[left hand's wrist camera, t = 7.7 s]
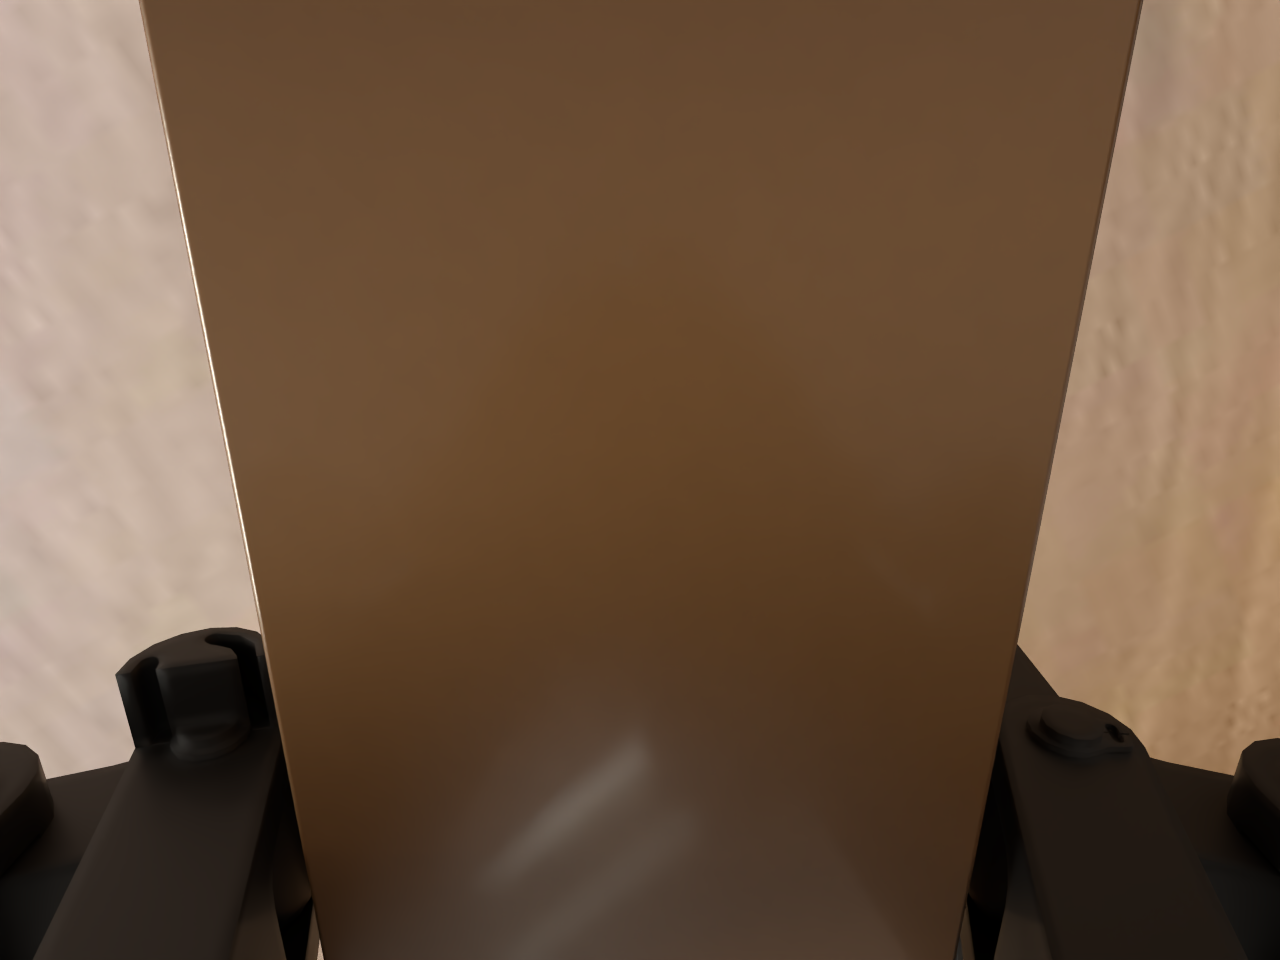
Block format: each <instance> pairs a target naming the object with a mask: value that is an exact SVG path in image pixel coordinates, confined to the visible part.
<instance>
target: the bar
mask: <svg viewBox="0 0 1280 960" xmlns="http://www.w3.org/2000/svg"><path fill="white" fill-rule="evenodd" d="M139 4H140V10H141V15H142V20H143V25H144V30H145V35H146V41H147V46H148V51H149V56H150V61H151V67H152V72H153V77H154V82H155V87H156V92H157V98H158V103H159V108H160V113H161V118H162V124H163V129H164V134H165V139H166V144H167V149H168V155H169V160H170V165H171V170H172V175H173V180H174V186H175V191H176V196H177V201H178V206H179V212H180V217H181V222H182V227H183V232H184V237H185V243H186V248H187V253H188V258H189V263H190V269H191V274H192V279H193V284H194V289H195V294H196V300H197V305H198V310H199V315H200V320H201V325H202V331H203V336H204V341H205V346H206V351H207V357H208V362H209V367H210V372H211V377H212V382H213V388H214V393H215V398H216V403H217V408H218V414H219V419H220V424H221V429H222V434H223V439H224V445H225V450H226V455H227V460H228V465H229V471H230V476H231V481H232V486H233V491H234V496H235V502H236V507H237V512H238V517H239V522H240V527H241V533H242V538H243V543H244V548H245V553H246V559H247V564H248V569H249V574H250V579H251V584H252V590H253V595H254V600H255V605H256V610H257V616H258V621H259V626H260V631H261V636H262V641H263V647H264V652H265V657H266V662H267V667H268V673H269V678H270V683H271V688H272V693H273V698H274V704H275V709H276V714H277V719H278V724H279V729H280V735H281V740H282V745H283V750H284V755H285V761H286V766H287V771H288V776H289V781H290V786H291V792H292V797H293V802H294V807H295V812H296V818H297V823H298V828H299V833H300V838H301V843H302V849H303V854H304V859H305V864H306V869H307V875H308V880H309V885H310V890H311V895H312V900H313V906H314V911H315V916H316V921H317V926H318V931H319V937H320V942H321V947H322V952H323V957H324V960H955V958H956V953H957V948H958V943H959V938H960V933H961V928H962V923H963V917H964V912H965V907H966V902H967V897H968V892H969V887H970V882H971V877H972V872H973V866H974V861H975V856H976V851H977V846H978V841H979V836H980V831H981V826H982V820H983V815H984V810H985V805H986V800H987V795H988V790H989V785H990V780H991V775H992V769H993V764H994V759H995V754H996V749H997V744H998V739H999V734H1000V729H1001V724H1002V718H1003V713H1004V708H1005V703H1006V698H1007V693H1008V688H1009V683H1010V678H1011V672H1012V667H1013V662H1014V657H1015V652H1016V647H1017V642H1018V637H1019V632H1020V627H1021V621H1022V616H1023V611H1024V606H1025V601H1026V596H1027V591H1028V586H1029V581H1030V576H1031V570H1032V565H1033V560H1034V555H1035V550H1036V545H1037V540H1038V535H1039V530H1040V524H1041V519H1042V514H1043V509H1044V504H1045V499H1046V494H1047V489H1048V484H1049V479H1050V473H1051V468H1052V463H1053V458H1054V453H1055V448H1056V443H1057V438H1058V433H1059V428H1060V422H1061V417H1062V412H1063V407H1064V402H1065V397H1066V392H1067V387H1068V382H1069V376H1070V371H1071V366H1072V361H1073V356H1074V351H1075V346H1076V341H1077V336H1078V331H1079V325H1080V320H1081V315H1082V310H1083V305H1084V300H1085V295H1086V290H1087V285H1088V279H1089V274H1090V269H1091V264H1092V259H1093V254H1094V249H1095V244H1096V239H1097V234H1098V228H1099V223H1100V218H1101V213H1102V208H1103V203H1104V198H1105V193H1106V188H1107V183H1108V177H1109V172H1110V167H1111V162H1112V157H1113V152H1114V147H1115V142H1116V137H1117V131H1118V126H1119V121H1120V116H1121V111H1122V106H1123V101H1124V96H1125V91H1126V86H1127V80H1128V75H1129V70H1130V65H1131V60H1132V55H1133V50H1134V45H1135V40H1136V35H1137V29H1138V24H1139V19H1140V14H1141V9H1142V4H1143V0H139Z"/></svg>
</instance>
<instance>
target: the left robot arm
mask: <svg viewBox="0 0 1280 960" xmlns="http://www.w3.org/2000/svg"><path fill="white" fill-rule="evenodd" d="M115 676H116V679H117V683H118V687H119V690H120V694H121V697H122V701H123V705H124V708H125V712H126V716H127V719H128V723H129V726H130V730H131V734H132V737H133V741H134V745H135V750H134V752H133V754H132V756H131V758H130V760H129V762H125V763H121V764H117V765H114V766H109V767H104V768H99V769H95V770H90V771H85V772H80V773H75V774H70V775H65V776H61V777H56V778H51V779H46V777H45V774H44V771H43V768H42V765H41V762H40V759H39V756H38V754H36V753H35V752H34V751H33V750H31V749H30V748H29V747H27V746H26V745H21V744H14V743H7V742H0V960H317V956H318V948H319V940H320V937H319V931H318V926H317V921H316V916H315V911H314V906H313V900H312V895H311V890H310V885H309V880H308V875H307V869H306V864H305V859H304V854H303V849H302V843H301V838H300V833H299V828H298V823H297V818H296V812H295V807H294V802H293V797H292V792H291V786H290V781H289V776H288V771H287V766H286V761H285V755H284V750H283V745H282V740H281V735H280V729H279V724H278V719H277V714H276V709H275V704H274V698H273V693H272V688H271V683H270V678H269V673H268V667H267V662H266V657H265V652H264V647H263V641H262V636H261V634H259V633H258V632H256V631H251V630H247V629H242V628H238V627H230V628H209V629H204V630H199V631H194V632H189V633H184V634H181V635H178V636H175V637H173V638H170V639H167V640H165V641H162V642H159V643H157V644H154V645H152V646H151V647H149V648H147V649H146V650H144V651H142V652H141V653H139V654H137V655H136V656H134V657H132V658H131V659H130V660H129V661H128V662H127V663H126V664H125V665H124V666H123V667H122V668H121V669H120V670H119V671H118V672H117V673H116V674H115ZM955 960H1280V738H1275V739H1268V740H1260V741H1254V742H1253V743H1252V744H1251V745H1249V746H1248V747H1247V748H1246V749H1244V750H1243V751H1242V754H1241V757H1240V760H1239V763H1238V766H1237V769H1236V772H1235V775H1234V776H1233V775H1228V774H1223V773H1218V772H1213V771H1208V770H1203V769H1198V768H1193V767H1189V766H1184V765H1179V764H1174V763H1169V762H1165V761H1161V760H1157V759H1154V758H1150V757H1149V755H1148V753H1147V751H1146V749H1145V747H1144V745H1143V744H1142V743H1141V742H1140V740H1139V739H1138V738H1137V737H1136V735H1135V734H1134V733H1133V731H1132V730H1131V729H1129V728H1128V727H1127V726H1125V725H1124V724H1122V723H1121V722H1120V721H1118V720H1117V719H1115V718H1114V717H1112V716H1111V715H1110V714H1108V713H1106V712H1103V711H1101V710H1099V709H1096V708H1094V707H1092V706H1090V705H1087V704H1085V703H1083V702H1079V701H1075V700H1071V699H1066V698H1062V697H1059V696H1058V695H1057V693H1056V692H1055V691H1054V690H1053V688H1052V687H1051V686H1050V685H1049V683H1048V682H1047V681H1046V680H1045V678H1044V677H1043V676H1042V675H1041V673H1040V672H1039V671H1038V670H1037V668H1036V667H1035V666H1034V665H1033V663H1032V662H1031V661H1030V660H1029V658H1028V657H1027V656H1026V655H1025V653H1024V652H1023V651H1022V650H1021V648H1020V647H1019V646H1018V645H1017V647H1016V652H1015V657H1014V662H1013V667H1012V672H1011V678H1010V683H1009V688H1008V693H1007V698H1006V703H1005V708H1004V713H1003V718H1002V724H1001V729H1000V734H999V739H998V744H997V749H996V754H995V759H994V764H993V769H992V775H991V780H990V785H989V790H988V795H987V800H986V805H985V810H984V815H983V820H982V826H981V831H980V836H979V841H978V846H977V851H976V856H975V861H974V866H973V872H972V877H971V882H970V887H969V892H968V897H967V902H966V907H965V912H964V917H963V923H962V928H961V933H960V938H959V943H958V948H957V953H956V958H955Z"/></svg>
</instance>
